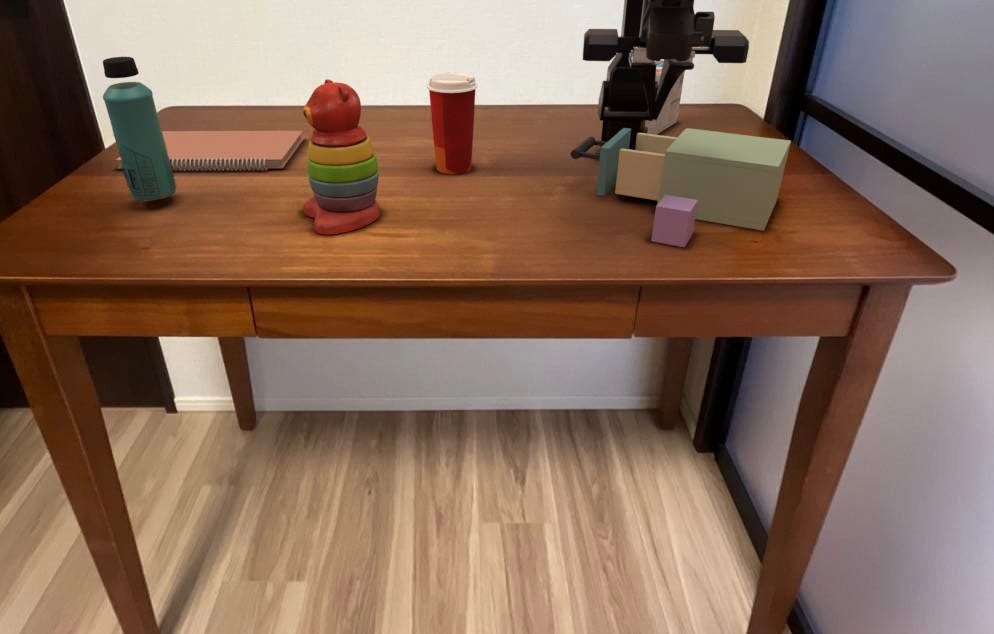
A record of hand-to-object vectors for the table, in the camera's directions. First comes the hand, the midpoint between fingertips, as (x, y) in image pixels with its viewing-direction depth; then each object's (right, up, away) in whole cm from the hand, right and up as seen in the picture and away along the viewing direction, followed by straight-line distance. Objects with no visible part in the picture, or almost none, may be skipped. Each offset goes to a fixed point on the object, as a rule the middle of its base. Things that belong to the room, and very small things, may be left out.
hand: (653, 119), depth 90 cm
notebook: (-66, +4, +33) cm, 74 cm away
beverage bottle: (-69, -8, +15) cm, 71 cm away
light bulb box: (+11, +12, +43) cm, 46 cm away
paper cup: (-25, 0, +25) cm, 36 cm away
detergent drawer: (+1, -5, +14) cm, 15 cm away
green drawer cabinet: (+12, -9, +10) cm, 18 cm away
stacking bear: (-40, -11, +9) cm, 43 cm away
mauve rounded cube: (+3, -15, +2) cm, 15 cm away
